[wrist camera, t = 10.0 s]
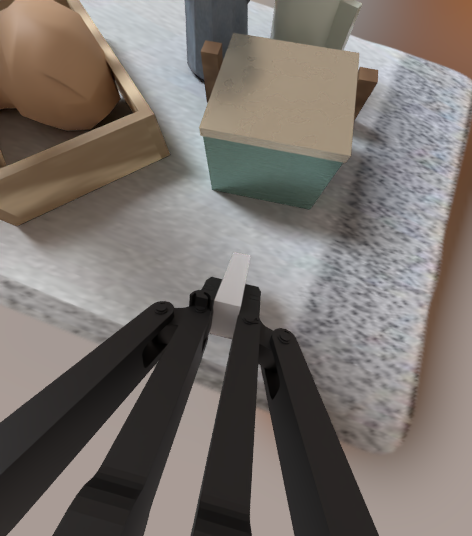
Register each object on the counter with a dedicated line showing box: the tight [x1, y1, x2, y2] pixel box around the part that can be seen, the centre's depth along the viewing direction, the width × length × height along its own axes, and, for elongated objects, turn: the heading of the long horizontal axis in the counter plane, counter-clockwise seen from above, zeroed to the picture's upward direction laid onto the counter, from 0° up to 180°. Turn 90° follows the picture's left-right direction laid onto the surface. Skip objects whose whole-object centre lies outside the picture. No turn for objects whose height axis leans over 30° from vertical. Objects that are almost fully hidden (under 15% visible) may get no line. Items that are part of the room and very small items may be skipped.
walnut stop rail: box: [201, 40, 378, 120], centre depth 24 cm, size 20×2×5 cm, turn 77°
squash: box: [0, 0, 121, 131], centre depth 22 cm, size 11×20×9 cm, turn 84°
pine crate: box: [0, 0, 170, 226], centre depth 23 cm, size 28×19×5 cm
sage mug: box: [270, 0, 362, 50], centre depth 24 cm, size 10×8×9 cm
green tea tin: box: [199, 33, 359, 209], centre depth 20 cm, size 12×12×8 cm
